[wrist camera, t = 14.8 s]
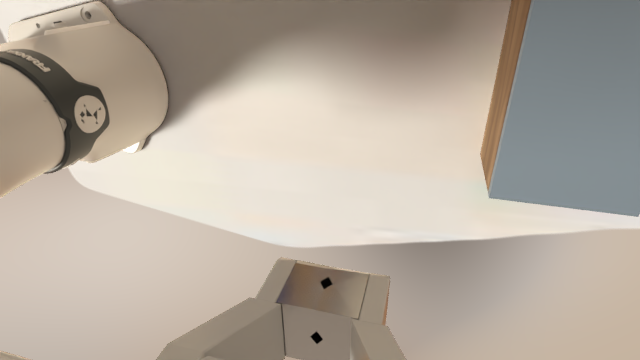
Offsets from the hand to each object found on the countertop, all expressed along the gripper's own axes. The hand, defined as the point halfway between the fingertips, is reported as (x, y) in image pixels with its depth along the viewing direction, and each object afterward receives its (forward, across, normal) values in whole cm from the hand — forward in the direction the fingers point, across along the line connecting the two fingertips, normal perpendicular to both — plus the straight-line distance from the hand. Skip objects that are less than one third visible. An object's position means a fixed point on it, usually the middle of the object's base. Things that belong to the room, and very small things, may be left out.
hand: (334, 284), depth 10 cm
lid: (+25, +13, 0) cm, 28 cm away
